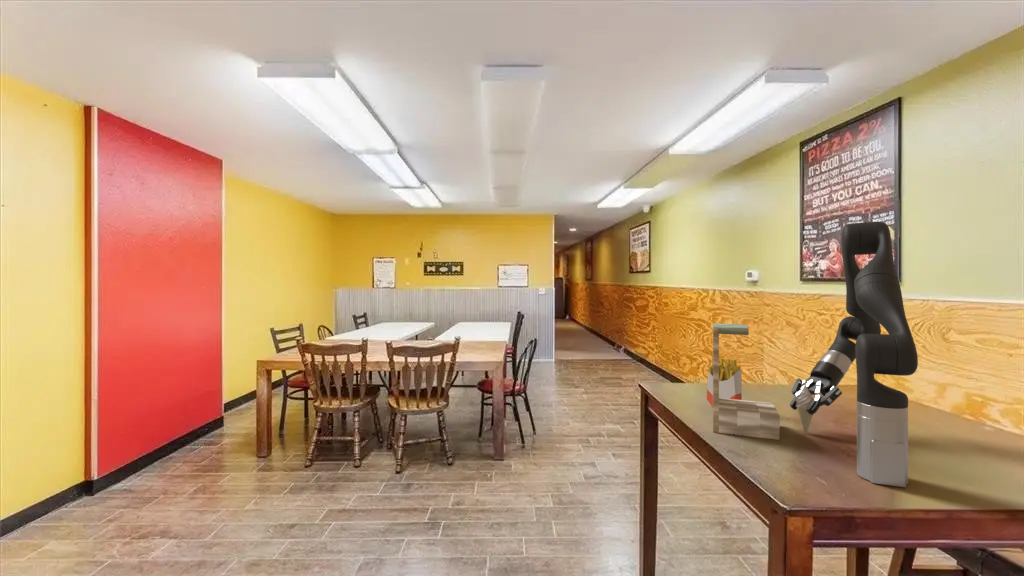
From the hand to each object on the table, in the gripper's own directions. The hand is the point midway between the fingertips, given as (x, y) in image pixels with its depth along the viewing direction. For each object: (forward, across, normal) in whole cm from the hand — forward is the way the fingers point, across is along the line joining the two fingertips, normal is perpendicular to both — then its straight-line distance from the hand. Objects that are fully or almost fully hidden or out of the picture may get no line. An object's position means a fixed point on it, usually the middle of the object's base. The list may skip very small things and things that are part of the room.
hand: (800, 410), depth 137 cm
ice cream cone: (+4, 0, +6) cm, 8 cm away
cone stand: (+13, -9, -3) cm, 16 cm away
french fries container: (+6, -30, +4) cm, 31 cm away
